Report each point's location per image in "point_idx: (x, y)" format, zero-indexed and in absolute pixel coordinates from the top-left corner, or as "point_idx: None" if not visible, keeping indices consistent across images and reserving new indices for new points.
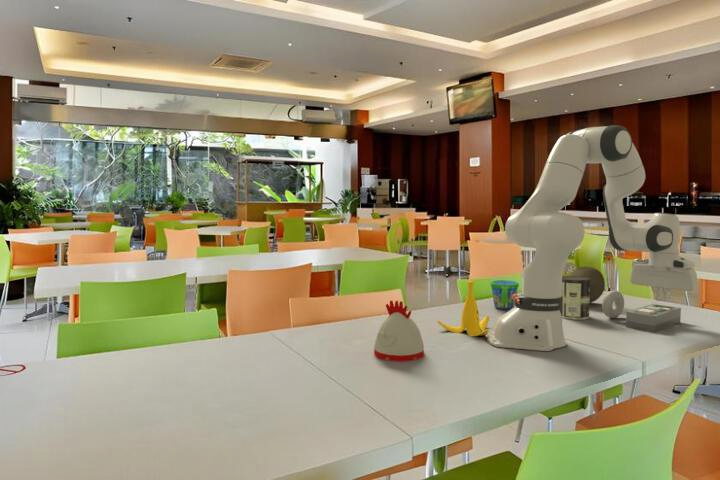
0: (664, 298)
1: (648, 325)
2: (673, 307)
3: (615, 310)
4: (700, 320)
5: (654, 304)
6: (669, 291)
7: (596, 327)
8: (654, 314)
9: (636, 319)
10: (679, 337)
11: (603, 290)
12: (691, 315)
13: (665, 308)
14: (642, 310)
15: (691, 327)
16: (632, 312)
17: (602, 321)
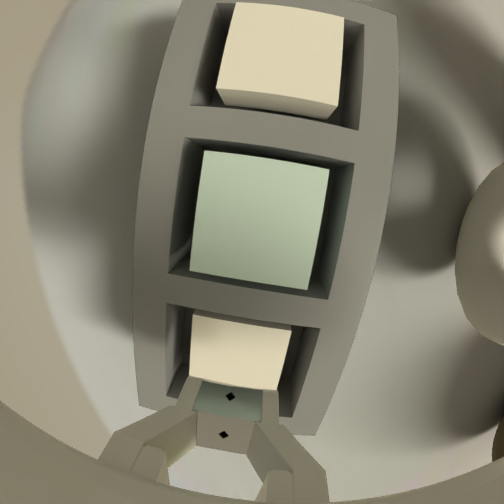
0: (187, 391)
1: None
2: (172, 397)
3: (487, 231)
4: (132, 419)
5: (303, 422)
6: (116, 448)
7: (434, 3)
8: (205, 29)
9: None
10: (107, 34)
11: (501, 455)
12: (188, 469)
13: (216, 377)
14: (305, 26)
15: (97, 271)
16: (358, 8)
17: (476, 121)
